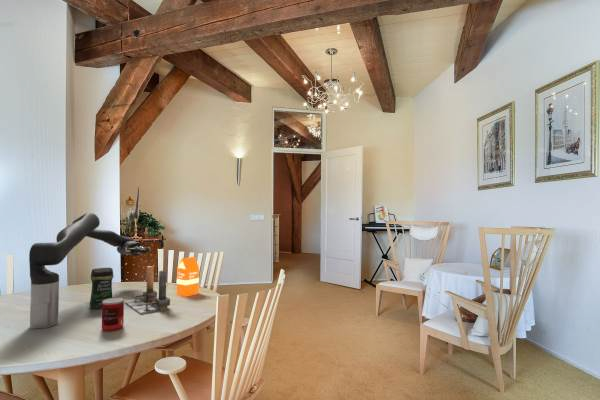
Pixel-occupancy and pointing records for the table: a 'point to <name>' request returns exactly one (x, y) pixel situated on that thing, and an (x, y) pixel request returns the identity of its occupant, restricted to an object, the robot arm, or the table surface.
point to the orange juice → (187, 277)
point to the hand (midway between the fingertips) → (144, 251)
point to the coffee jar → (101, 286)
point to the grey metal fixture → (152, 299)
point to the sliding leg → (149, 285)
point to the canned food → (112, 314)
